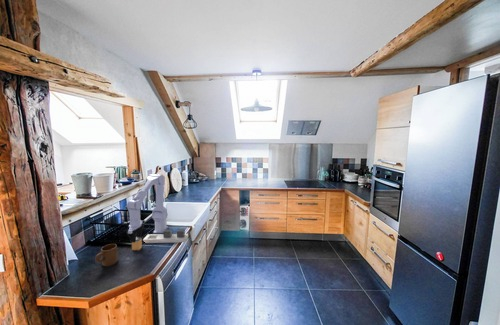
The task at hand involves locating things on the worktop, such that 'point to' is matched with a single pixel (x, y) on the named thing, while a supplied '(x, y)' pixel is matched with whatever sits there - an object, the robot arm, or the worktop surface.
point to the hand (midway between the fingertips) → (136, 238)
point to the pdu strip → (164, 240)
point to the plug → (137, 244)
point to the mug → (108, 255)
